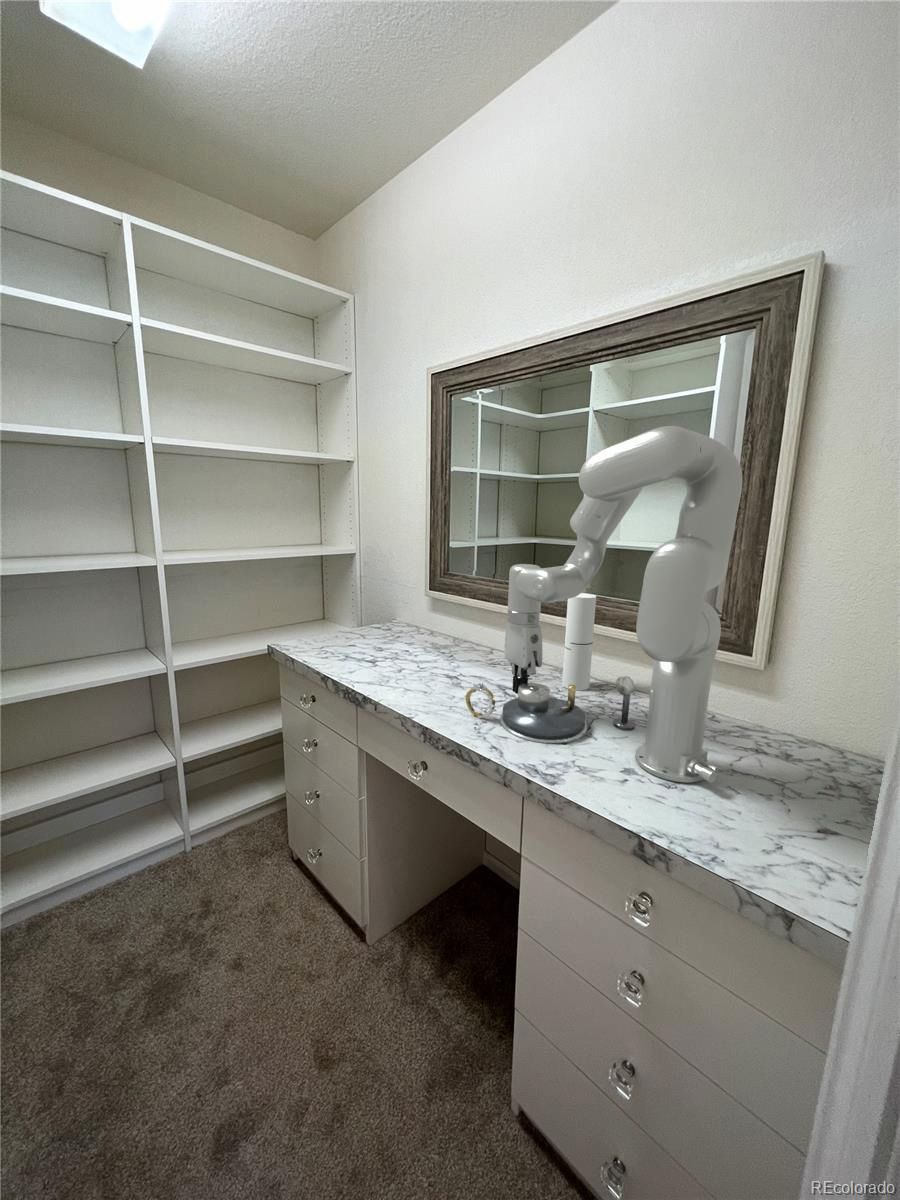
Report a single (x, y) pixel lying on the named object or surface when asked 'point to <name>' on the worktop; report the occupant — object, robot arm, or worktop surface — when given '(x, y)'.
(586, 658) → the cylindrical container
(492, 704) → the bracelet
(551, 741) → the base
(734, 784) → the worktop surface
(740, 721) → the worktop surface
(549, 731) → the turntable
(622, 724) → the ball topped stand
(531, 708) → the cover
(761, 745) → the worktop surface
